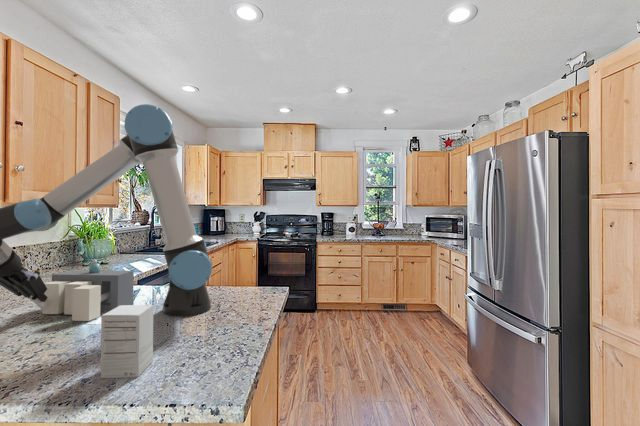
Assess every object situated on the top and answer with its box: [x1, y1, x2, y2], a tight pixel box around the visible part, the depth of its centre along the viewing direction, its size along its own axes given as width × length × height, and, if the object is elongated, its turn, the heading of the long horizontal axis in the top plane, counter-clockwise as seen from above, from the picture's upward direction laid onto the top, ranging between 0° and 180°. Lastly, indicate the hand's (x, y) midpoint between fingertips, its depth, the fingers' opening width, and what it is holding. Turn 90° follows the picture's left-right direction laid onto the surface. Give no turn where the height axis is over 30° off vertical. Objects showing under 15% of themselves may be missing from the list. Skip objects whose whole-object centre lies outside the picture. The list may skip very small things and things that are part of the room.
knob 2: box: [71, 285, 110, 322], centre depth 103 cm, size 5×13×10 cm, turn 0°
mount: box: [51, 269, 135, 315], centre depth 110 cm, size 22×14×12 cm, turn 90°
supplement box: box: [100, 304, 154, 379], centre depth 68 cm, size 7×7×13 cm
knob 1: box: [41, 281, 71, 315], centre depth 109 cm, size 5×13×10 cm, turn 0°
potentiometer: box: [88, 259, 101, 273], centre depth 112 cm, size 3×3×4 cm
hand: (46, 305), depth 101 cm, fingers closed
